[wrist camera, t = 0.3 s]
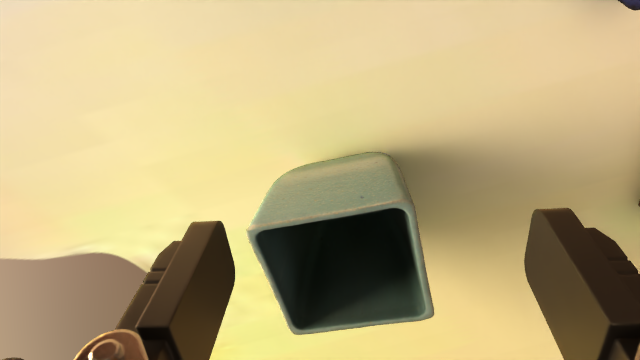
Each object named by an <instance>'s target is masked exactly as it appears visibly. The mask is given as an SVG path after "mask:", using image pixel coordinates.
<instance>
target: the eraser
mask: <svg viewBox="0 0 640 360" xmlns="http://www.w3.org/2000/svg"><path fill="white" fill-rule="evenodd" d="M618 1H620V2H621V3H623V4H624V5H625V6H626V7H628V8H629V9H632V10H640V0H618Z"/></svg>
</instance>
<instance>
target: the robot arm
mask: <svg viewBox="0 0 640 360" xmlns="http://www.w3.org/2000/svg"><path fill="white" fill-rule="evenodd" d="M524 264H525V273H526V277H527V280H528V283H529V285H530V287H531V289H532V291H533V293H534V296H535V298H536V300H537V302H538V304H539V306H540V308H541V311H542V313H543V315H544V317H545V319H546V321H547V324H548V326H549V328H550V330H551V332H552V334H553V336H554V339H555V341H556V343H557V345H558V347H559V349H560V352H561V354H562V356H563V358H564V360H640V274H638V270H637V269H636V267H635V266H634V265H633V264H632V262H631V261H628V259H627V256H626V255H625V254H624V252H623V251H622V250H621V248H620V247H619V246H618V245H617V243H616V242H615V241H614V240H612V239H611V238H609V237H608V236H606V235H605V234H603V233H602V232H600V231H599V230H597V229H596V228H585V227H584V226H583V225H582V223H581V222H580V221H579V219H578V218H577V216H576V215H575V214H574V212H573V211H572V210H571V209H569V208H557V209H536V210H535V211H534V212H533V215H532V219H531V224H530V230H529V235H528V241H527V247H526V252H525V260H524ZM234 282H235V266H234V261H233V258H232V254H231V250H230V246H229V243H228V239H227V235H226V231H225V228H224V225H223V223H222V222H221V221H206V222H193V223H191V225H190V226H189V228H188V230H187V232H186V233H185V235H184V237H183V239H182V241H174V242H172V243H171V244H170V245H169V246H168V247H167V248H166V249H164V250H163V251H162V252H161V253H160V254H159V255H158V257H157V258H156V260H155V262H154V264H153V265H152V267H151V269H150V272H148V274H147V275H146V278H145V279H144V281H143V284H142V285H141V286H140V287H139V289H138V291H137V293H136V294H135V296H134V298H133V299H132V301H131V303H130V304H129V306H128V308H127V310H126V311H125V313H124V315H123V317H122V318H121V320H120V321H119V323H118V325H117V327H116V329H115V330H113V331H109V332H106V333H104V334H102V335H100V336H98V337H96V338H95V339H93V340H92V341H90V342H89V343H88V344H87V345H85V346H84V347H83V348H82V349H81V351H80V352H79V353H78V354H77V355H76V357H75V359H74V360H209V359H210V356H211V353H212V350H213V347H214V344H215V341H216V338H217V335H218V332H219V329H220V326H221V323H222V320H223V317H224V314H225V311H226V308H227V305H228V302H229V299H230V296H231V293H232V290H233V287H234ZM2 360H23V359H21V358H6V359H2Z"/></svg>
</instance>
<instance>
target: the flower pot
mask: <svg viewBox="0 0 640 360" xmlns="http://www.w3.org/2000/svg"><path fill="white" fill-rule="evenodd" d="M246 235H247V237H248V240H249V243H250V244H251V246H252V249H253V251H254V253H255V255H256V257H257V260H258V261H259V263H260V265H261V268H262V269H263V271H264V274H265V276H266V278H267V280H268V282H269V285H270V287H271V289H272V291H273V293H274V295H275V298H276V300H277V303H278V305H279V307H280V309H281V311H282V314H283V316H284V318H285V321H286V324H287V326H288V328H289V329H290V331H291V332H292V333H294V334H296V335H302V334H313V333H320V332H328V331H336V330H344V329H353V328H361V327H367V326H375V325H383V324H394V323H402V322H413V321H422V320H425V319H428V318H431V317H433V315H434V307H433V303H432V298H431V293H430V288H429V283H428V278H427V273H426V267H425V262H424V256H423V251H422V245H421V239H420V233H419V228H418V221H417V214H416V210H415V206H414V203H413V201H412V198H411V195H410V193H409V190H408V187H407V185H406V182H405V180H404V177H403V175H402V172H401V170H400V168H399V166H398V164H397V163H396V161H395V160H394V159H393V158H391V157H390V156H388V155H387V154H384V153H379V152H367V153H362V154H357V155H353V156H348V157H343V158H338V159H333V160H328V161H322V162H316V163H311V164H307V165H304V166H301V167H298V168H295V169H293V170H291V171H289V172H287V173H285V174H284V175H282V176H281V177H280V178H278V179H277V180H276V181H275V182H274V183H273V185H272V186H271V188H270V189H269V191H268V192H267V194H266V196H265V197H264V199H263V201H262V203H261V205H260V206H259V208H258V210H257V212H256V214H255V215H254V217H253V219H252V221H251V223H250V225H249V227H248V228H247V230H246Z"/></svg>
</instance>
